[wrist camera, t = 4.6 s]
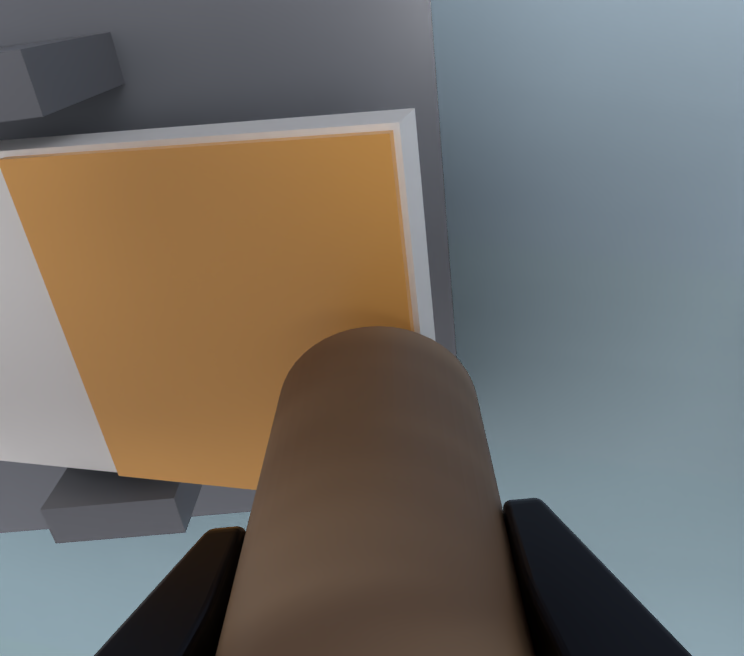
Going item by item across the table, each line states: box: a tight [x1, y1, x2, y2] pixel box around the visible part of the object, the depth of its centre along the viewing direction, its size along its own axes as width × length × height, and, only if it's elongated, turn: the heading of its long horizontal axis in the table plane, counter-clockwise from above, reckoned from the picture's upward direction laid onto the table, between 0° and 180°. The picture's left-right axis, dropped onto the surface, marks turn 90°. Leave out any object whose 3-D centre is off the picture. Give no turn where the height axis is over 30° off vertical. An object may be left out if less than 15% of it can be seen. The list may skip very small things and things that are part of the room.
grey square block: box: [0, 0, 457, 543], centre depth 16 cm, size 16×16×8 cm
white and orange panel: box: [0, 108, 435, 490], centre depth 13 cm, size 15×7×1 cm, turn 97°
